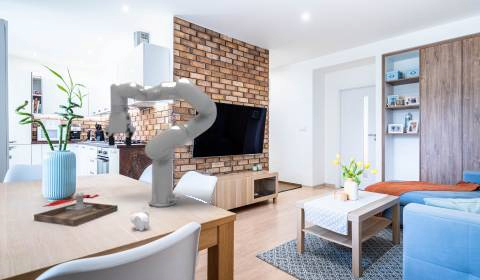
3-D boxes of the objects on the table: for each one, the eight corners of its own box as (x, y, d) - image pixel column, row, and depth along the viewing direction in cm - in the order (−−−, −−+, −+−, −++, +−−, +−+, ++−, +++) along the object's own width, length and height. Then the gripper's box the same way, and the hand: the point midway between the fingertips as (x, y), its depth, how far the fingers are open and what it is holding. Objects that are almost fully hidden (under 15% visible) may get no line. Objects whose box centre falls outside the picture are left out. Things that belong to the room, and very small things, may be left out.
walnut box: (117, 212, 110) (117, 205, 110) (74, 228, 90) (74, 220, 90) (81, 208, 115) (81, 201, 115) (34, 222, 96) (34, 214, 96)
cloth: (43, 210, 114) (43, 205, 114) (38, 204, 124) (38, 199, 124) (106, 200, 132) (106, 196, 132) (98, 195, 142) (98, 191, 142)
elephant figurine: (141, 224, 96) (141, 208, 96) (156, 228, 92) (156, 211, 91) (124, 229, 90) (124, 212, 90) (140, 234, 86) (140, 216, 86)
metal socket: (92, 210, 109) (92, 205, 109) (78, 215, 102) (78, 209, 102) (80, 209, 111) (80, 203, 111) (65, 214, 104) (65, 208, 104)
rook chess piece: (77, 210, 109) (77, 192, 109) (88, 210, 109) (88, 192, 109) (71, 214, 104) (71, 194, 104) (82, 213, 105) (82, 194, 105)
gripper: (139, 110, 125) (140, 145, 125) (110, 111, 130) (111, 145, 130) (129, 108, 118) (129, 146, 118) (98, 109, 122) (99, 145, 123)
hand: (120, 145), depth 124 cm, fingers open, 9 cm apart
